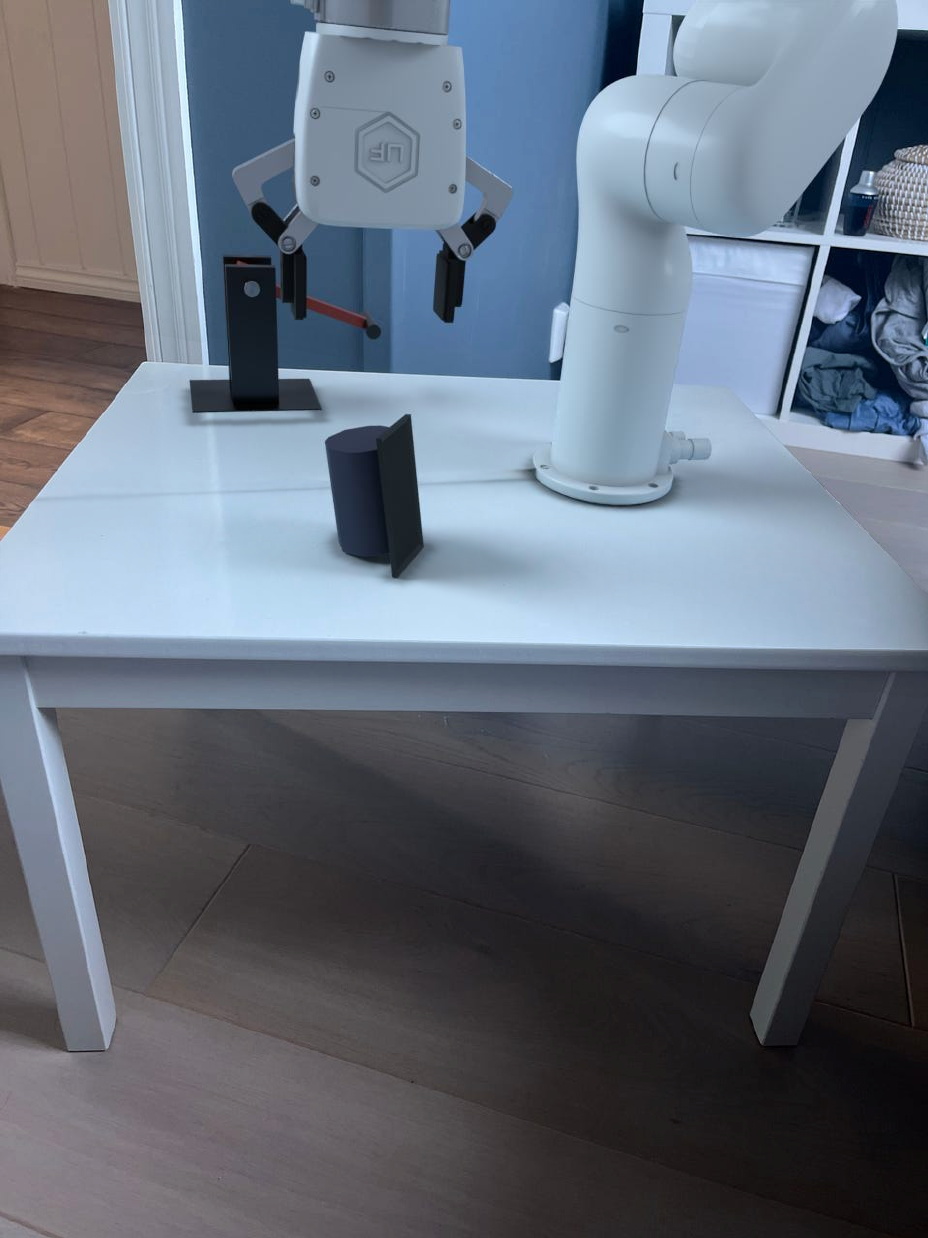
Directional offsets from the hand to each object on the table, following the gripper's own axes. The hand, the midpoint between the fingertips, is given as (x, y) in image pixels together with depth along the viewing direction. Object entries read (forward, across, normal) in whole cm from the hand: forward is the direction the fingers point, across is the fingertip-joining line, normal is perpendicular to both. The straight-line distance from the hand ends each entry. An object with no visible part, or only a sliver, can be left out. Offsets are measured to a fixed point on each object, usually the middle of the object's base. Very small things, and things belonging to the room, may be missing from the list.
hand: (371, 316), depth 64 cm
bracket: (+17, -6, +31) cm, 36 cm away
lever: (+8, -1, +31) cm, 32 cm away
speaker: (+17, 0, 0) cm, 17 cm away
